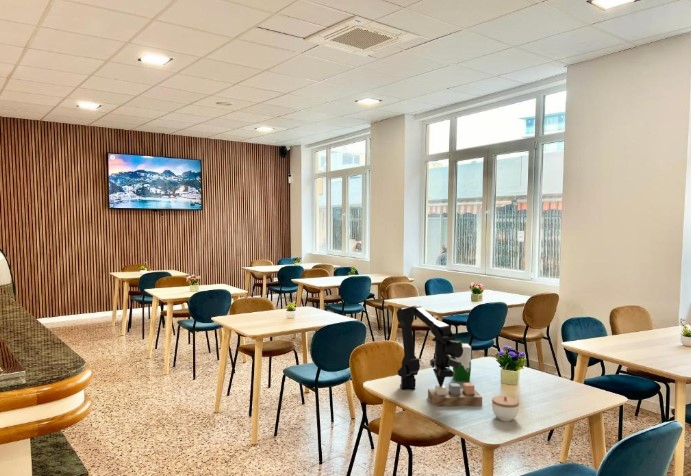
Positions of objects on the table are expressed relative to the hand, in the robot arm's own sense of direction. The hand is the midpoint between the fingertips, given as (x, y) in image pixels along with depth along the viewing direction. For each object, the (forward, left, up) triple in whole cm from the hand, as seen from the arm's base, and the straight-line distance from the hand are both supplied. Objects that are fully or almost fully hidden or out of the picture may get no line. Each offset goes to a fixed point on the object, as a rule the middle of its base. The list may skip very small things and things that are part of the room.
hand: (440, 386), depth 221 cm
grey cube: (+7, 0, -3) cm, 7 cm away
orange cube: (+13, 0, -3) cm, 13 cm away
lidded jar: (+23, -19, -8) cm, 30 cm away
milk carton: (+20, +31, -8) cm, 37 cm away
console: (+7, 0, -7) cm, 10 cm away
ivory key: (0, 0, -4) cm, 4 cm away
